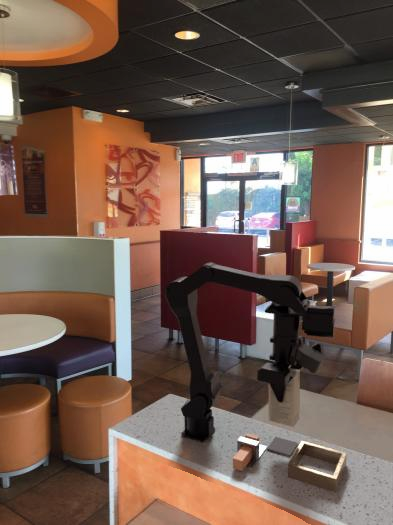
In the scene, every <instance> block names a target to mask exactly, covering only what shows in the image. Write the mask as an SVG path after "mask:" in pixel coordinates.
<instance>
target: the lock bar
mask: <svg viewBox="0 0 393 525" xmlns="http://www.w3.org/2000/svg"><path fill="white" fill-rule="evenodd" d="M244 437H245V438H248V439H252V440H255V441H259V442H260V436H259V435H257V434H256V435H255V434H252V433H248V432H247V433H246V434H245V435H244ZM236 452H237V451H236ZM252 457H253V447H250V446H247V445H243V446H242V447H241V449H240V450H239V451H238V452H237V453H235V455H234V456H233V457H232V469H234V470H238V471H240V472H243V471H244V469H245V468H247V467H246V465H247V464H248V463H249V461H250V460H251V459H252Z"/></svg>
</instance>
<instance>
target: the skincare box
mask: <svg viewBox="0 0 393 525" xmlns="http://www.w3.org/2000/svg"><path fill="white" fill-rule="evenodd" d="M289 369H290V376H292V377H293V379H292V380H291V381H290V382H289V383H287V385H286V390H285V395H284V399H283V402H282V403H281V402H278V401H277V399H276V397H275V394H274V392H273V390H272V388H271V386H270V384H269V383H268V421H269V422H273V423H277V424H281V425H284V426H287V427H293V428H294V427H295V426H296V425H297V423H298V421H299V420H300V398H301V397H300V396H301V394H300V393H301V392H300V391H301V390H300V388H301V380H300V379H301V369H300V370H297V369H292V368H289Z"/></svg>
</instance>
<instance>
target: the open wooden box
mask: <svg viewBox="0 0 393 525" xmlns="http://www.w3.org/2000/svg"><path fill="white" fill-rule="evenodd" d="M347 455H348V452H345V451H341V450H337V449H335V448H329V447H326V446H323V445H319V444H315V443H312V442H308V441H304V440H300V443H298V445H297V447H296V448H295V450H294V452H293V453H292V455H291V457H290V460H289V462H288V463H287V472H286V473H287V474H286V476H287V478H288V479H291V480H295V481H298V482H300V483H304V484H307V485H310V486H314V487H316V488H319V489H322V490H326V491H329V492H333V493H337V491H338V488H339V485H340V482H341V480H342V477H343V474H344V471H345V469H346V467H347V459H348V458H347ZM304 457H308V458H311V459H316V460H319V461H322V462H326V463H328V464H333V465H336V468H335V471H334V473H333V475H332V474H329V473H325V472H322V471H320V470H315V469H312V468H309V467H305V466H303V465H300V463H301V462H302V460H303V458H304Z"/></svg>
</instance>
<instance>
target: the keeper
mask: <svg viewBox="0 0 393 525" xmlns="http://www.w3.org/2000/svg"><path fill="white" fill-rule="evenodd" d="M236 444H237V446H236V447H237V448H236V452H238V451H239V450H240V449H241V447H242V446H243V445H247V446H250V447H253V457H252V459H251V460H250V461H249V463H248V464H247V465H246V467H245V468H250V469H253V468H254V467H255V465H256V464H257V462H258V461H259V459H260V458H261V457H262V455H263V453H264V452H265V451H266V450H267V448H268V446H266V445H263V444H260V440H259V441H255V440H252V439H248V438H245V436H239V438H238V439H237V443H236Z"/></svg>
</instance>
